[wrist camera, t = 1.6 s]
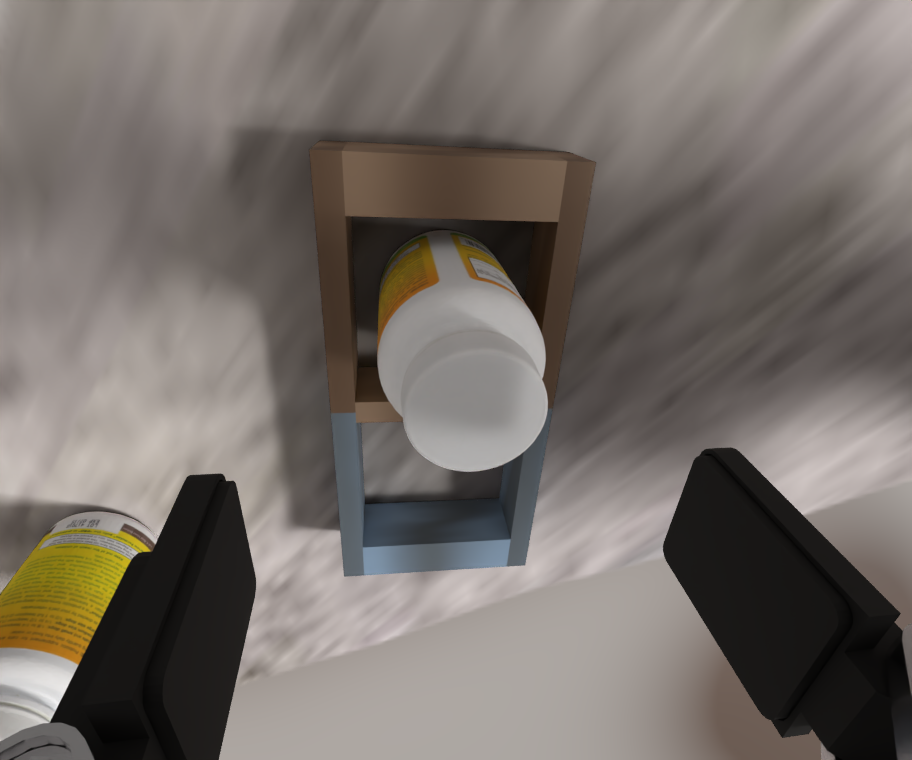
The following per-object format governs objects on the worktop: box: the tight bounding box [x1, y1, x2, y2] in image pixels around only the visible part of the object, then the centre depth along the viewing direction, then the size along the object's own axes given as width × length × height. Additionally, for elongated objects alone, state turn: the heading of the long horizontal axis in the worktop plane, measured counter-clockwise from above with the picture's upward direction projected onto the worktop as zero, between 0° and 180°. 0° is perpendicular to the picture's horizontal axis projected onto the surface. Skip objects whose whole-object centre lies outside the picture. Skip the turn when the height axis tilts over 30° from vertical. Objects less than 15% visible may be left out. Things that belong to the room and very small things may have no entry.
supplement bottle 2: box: [377, 230, 548, 472], centre depth 18 cm, size 5×5×10 cm
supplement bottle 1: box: [0, 512, 158, 741], centre depth 22 cm, size 6×6×10 cm
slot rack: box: [309, 141, 596, 576], centre depth 23 cm, size 9×20×3 cm, turn 177°
